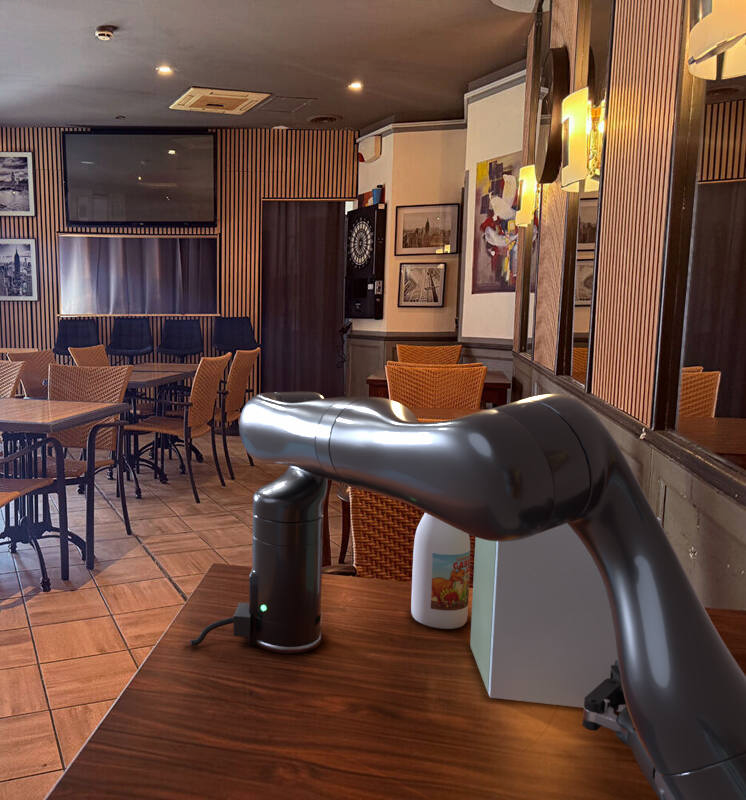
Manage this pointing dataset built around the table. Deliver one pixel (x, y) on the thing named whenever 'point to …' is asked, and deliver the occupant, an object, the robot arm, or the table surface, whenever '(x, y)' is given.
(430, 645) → the table surface
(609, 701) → the robot arm
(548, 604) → the cabinet door
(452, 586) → the milk bottle
